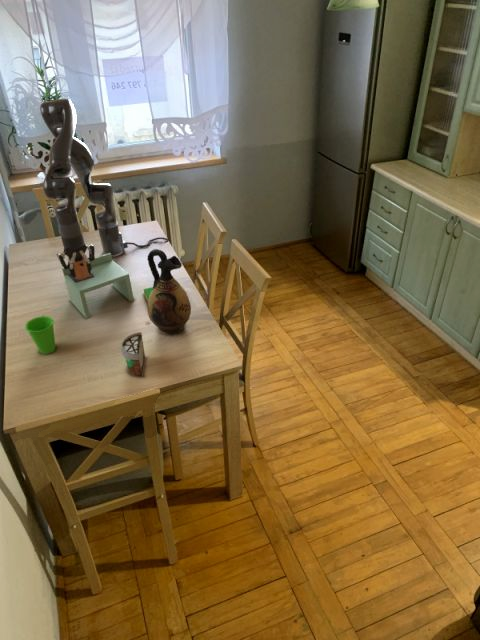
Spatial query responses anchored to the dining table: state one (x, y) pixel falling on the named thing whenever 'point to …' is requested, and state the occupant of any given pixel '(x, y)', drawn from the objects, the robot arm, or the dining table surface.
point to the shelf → (98, 281)
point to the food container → (134, 353)
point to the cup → (42, 333)
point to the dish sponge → (147, 292)
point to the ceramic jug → (167, 296)
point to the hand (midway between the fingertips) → (81, 273)
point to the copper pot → (80, 269)
